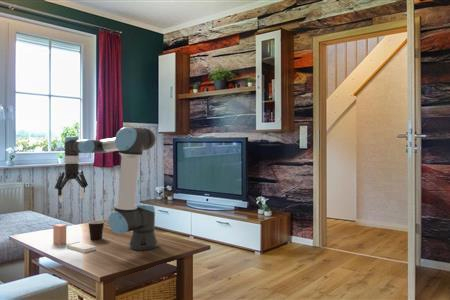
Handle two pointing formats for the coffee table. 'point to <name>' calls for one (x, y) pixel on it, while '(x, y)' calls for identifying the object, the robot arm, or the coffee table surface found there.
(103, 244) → the coffee table surface
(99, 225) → the coffee mug
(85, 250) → the pad
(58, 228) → the stub
